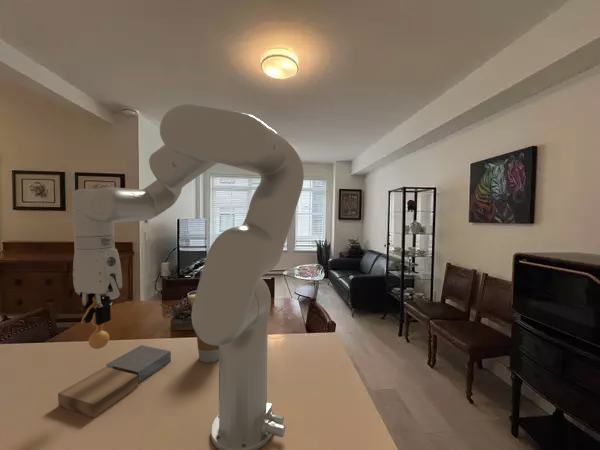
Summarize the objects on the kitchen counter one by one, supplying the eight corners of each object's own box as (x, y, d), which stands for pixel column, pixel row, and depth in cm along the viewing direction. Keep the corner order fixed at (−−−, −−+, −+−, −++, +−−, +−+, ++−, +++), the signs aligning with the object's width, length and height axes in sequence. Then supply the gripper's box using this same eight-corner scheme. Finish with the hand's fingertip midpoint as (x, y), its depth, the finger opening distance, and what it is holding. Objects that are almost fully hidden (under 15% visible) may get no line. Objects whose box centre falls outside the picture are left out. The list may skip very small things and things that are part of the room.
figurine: (108, 342, 70) (95, 295, 71) (129, 336, 69) (116, 289, 70) (77, 358, 62) (63, 305, 62) (100, 351, 61) (86, 298, 61)
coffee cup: (219, 365, 80) (219, 313, 79) (190, 364, 80) (190, 313, 79) (227, 350, 88) (227, 303, 87) (201, 350, 89) (201, 303, 88)
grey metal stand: (170, 361, 82) (170, 351, 82) (138, 383, 72) (138, 372, 71) (141, 354, 85) (141, 345, 85) (106, 375, 75) (106, 364, 75)
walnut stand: (138, 386, 70) (138, 375, 70) (94, 417, 60) (93, 404, 60) (105, 378, 74) (105, 366, 73) (58, 406, 63) (58, 393, 63)
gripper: (136, 243, 66) (138, 320, 67) (86, 239, 71) (89, 311, 72) (105, 247, 58) (108, 333, 60) (52, 243, 63) (56, 323, 65)
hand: (98, 320), depth 66 cm, fingers closed on figurine, 2 cm apart
